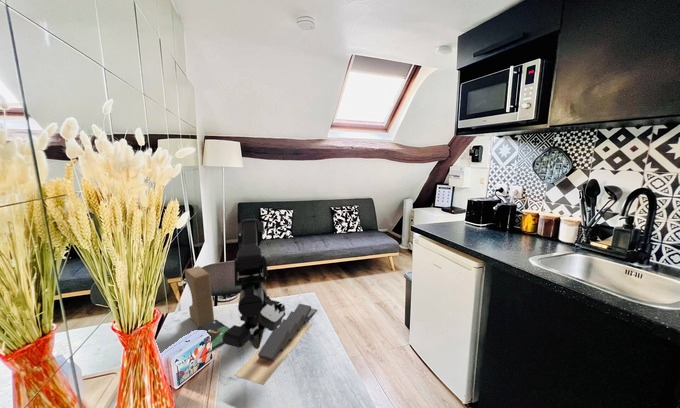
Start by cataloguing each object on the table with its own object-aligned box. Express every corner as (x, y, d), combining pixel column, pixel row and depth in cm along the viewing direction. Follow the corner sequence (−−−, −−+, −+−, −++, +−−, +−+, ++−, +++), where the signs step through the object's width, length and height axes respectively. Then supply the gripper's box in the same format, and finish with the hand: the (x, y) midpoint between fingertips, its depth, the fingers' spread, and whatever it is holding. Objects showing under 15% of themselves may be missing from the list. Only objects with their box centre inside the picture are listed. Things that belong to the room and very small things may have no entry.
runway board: (234, 378, 79) (234, 374, 79) (289, 322, 106) (288, 319, 105) (263, 388, 75) (263, 384, 75) (312, 327, 102) (312, 324, 102)
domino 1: (271, 358, 83) (288, 330, 91) (257, 354, 85) (275, 327, 93) (273, 361, 84) (289, 333, 92) (259, 357, 85) (276, 330, 94)
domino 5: (305, 319, 102) (317, 309, 111) (293, 317, 104) (306, 307, 113) (305, 324, 102) (317, 313, 111) (293, 321, 104) (306, 311, 113)
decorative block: (190, 317, 111) (184, 269, 107) (205, 311, 114) (199, 265, 111) (198, 329, 103) (192, 278, 99) (214, 322, 106) (209, 273, 103)
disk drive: (188, 340, 98) (209, 357, 89) (187, 332, 97) (208, 349, 88) (216, 325, 106) (238, 339, 97) (215, 318, 105) (238, 332, 96)
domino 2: (297, 328, 97) (310, 306, 105) (285, 324, 99) (299, 303, 107) (298, 331, 98) (311, 309, 106) (286, 327, 100) (300, 306, 108)
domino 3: (289, 337, 92) (303, 313, 100) (277, 334, 94) (291, 311, 102) (290, 341, 93) (304, 316, 101) (278, 337, 95) (292, 314, 103)
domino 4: (281, 347, 87) (296, 321, 96) (267, 344, 89) (283, 319, 97) (282, 351, 88) (297, 325, 96) (269, 347, 90) (284, 322, 98)
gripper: (254, 321, 65) (259, 380, 68) (295, 286, 82) (298, 334, 85) (218, 312, 69) (224, 368, 72) (264, 281, 86) (267, 327, 89)
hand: (257, 348), depth 79 cm, fingers closed
